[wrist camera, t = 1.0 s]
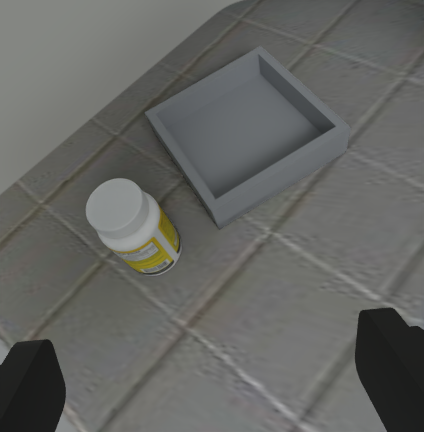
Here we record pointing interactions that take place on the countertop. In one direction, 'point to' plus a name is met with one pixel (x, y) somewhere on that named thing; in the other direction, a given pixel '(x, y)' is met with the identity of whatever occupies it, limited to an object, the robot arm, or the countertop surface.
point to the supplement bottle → (134, 226)
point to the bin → (247, 134)
